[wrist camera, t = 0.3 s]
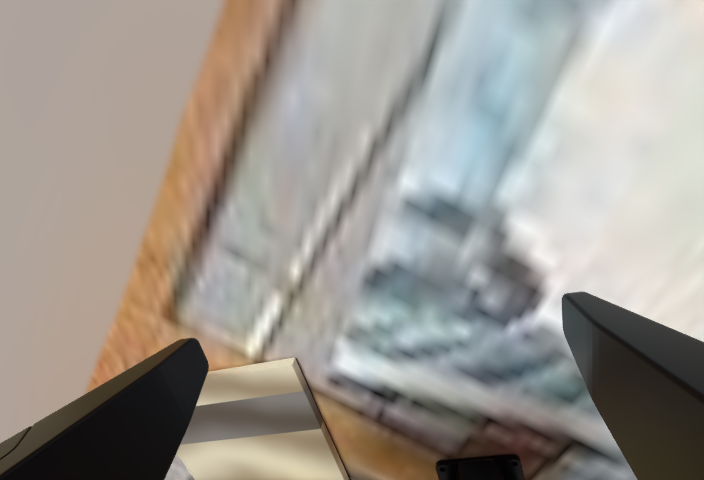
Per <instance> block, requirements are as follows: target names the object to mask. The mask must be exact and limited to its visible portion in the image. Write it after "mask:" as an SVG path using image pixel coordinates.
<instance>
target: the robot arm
mask: <svg viewBox="0 0 704 480" xmlns="http://www.w3.org/2000/svg"><path fill="white" fill-rule="evenodd" d="M562 320H563V331H564V334H565V337H566V340H567V342H568V344H569V347H570V349H571V351H572V354H573V356H574V358H575V361H576V363H577V366H578V368H579V370H580V373H581V375H582V377H583V380H584V382H585V384H586V387H587V389H588V391H589V393H590V396H591V398H592V400H593V402H594V404H595V406H596V407H597V409H598V411H599V413H600V415H601V416H602V418H603V420H604V422H605V423H606V425H607V427H608V429H609V430H610V432H611V434H612V436H613V437H614V439H615V441H616V443H617V444H618V446H619V448H620V450H621V451H622V453H623V455H624V457H625V458H626V460H627V462H628V464H629V465H630V467H631V469H632V471H633V472H634V474H635V476H636V478H637V479H638V480H704V342H702V341H700V340H697V339H695V338H693V337H690V336H688V335H686V334H683V333H681V332H678V331H676V330H674V329H671V328H669V327H667V326H664V325H662V324H660V323H657V322H655V321H652V320H650V319H648V318H645V317H643V316H641V315H638V314H636V313H634V312H631V311H629V310H626V309H624V308H622V307H619V306H617V305H615V304H612V303H610V302H608V301H605V300H603V299H600V298H598V297H596V296H593V295H591V294H589V293H586V292H574V293H567V294H564V295H563V297H562ZM208 369H209V365H208V361H207V359H206V356H205V354H204V352H203V350H202V348H201V345H200V343H199V341H198V340H197V339H195V338H187V339H181V340H178V341H176V342H175V343H173V344H171V345H169V346H168V347H166V348H164V349H163V350H161V351H159V352H157V353H156V354H154V355H152V356H151V357H149V358H147V359H145V360H144V361H142V362H140V363H138V364H137V365H135V366H133V367H132V368H130V369H128V370H126V371H125V372H123V373H121V374H119V375H118V376H116V377H114V378H113V379H111V380H109V381H107V382H106V383H104V384H102V385H101V386H99V387H97V388H95V389H94V390H92V391H90V392H88V393H87V394H85V395H83V396H82V397H80V398H78V399H76V400H75V401H73V402H71V403H69V404H68V405H66V406H64V407H63V408H61V409H59V410H57V411H56V412H54V413H52V414H51V415H49V416H47V417H45V418H44V419H42V420H40V421H39V422H37V423H35V424H34V425H33V426H30V427H28V428H26V429H25V430H23V431H21V432H19V433H18V434H16V435H14V436H12V437H11V438H9V439H7V440H5V441H4V442H2V443H0V480H164V479H165V477H166V475H167V473H168V470H169V468H170V466H171V464H172V462H173V459H174V457H175V455H176V453H177V451H178V449H179V446H180V444H181V442H182V440H183V438H184V435H185V433H186V431H187V429H188V426H189V424H190V421H191V418H192V416H193V413H194V410H195V407H196V404H197V402H198V399H199V396H200V393H201V390H202V387H203V385H204V382H205V379H206V376H207V373H208ZM436 471H437V474H438V477H439V480H524V475H523V470H522V465H521V461H520V458H519V457H518V456H517V455H502V456H490V457H479V458H467V459H455V460H443V461H438V462H437V463H436Z"/></svg>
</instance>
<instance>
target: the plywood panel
mask: <svg viewBox="0 0 704 480" xmlns="http://www.w3.org/2000/svg"><path fill="white" fill-rule="evenodd" d="M177 454H178V455H179V457H180V458H181V460H182V461H183V463H184V464H185V466H186V467H187V469H188V470H189V472H190V473H191V475H192V476H193V478H194V479H195V480H349V478H348V475H347V473H346V471H345V469H344V466H343V464H342V462H341V460H340V458H339V455H338V453H337V451H336V449H335V446H334V444H333V442H332V440H331V437H330V435H329V433H328V431H327V428H326V426H325V424H324V422H323V419H322V417H321V415H320V413H319V410H318V408H317V406H316V404H315V401H314V399H313V397H312V395H311V393H310V390H309V388H308V386H307V384H306V381H305V379H304V377H303V375H302V372H301V370H300V368H299V366H298V363H297V361H296V359H295V358H290V359H284V360H278V361H272V362H265V363H259V364H253V365H247V366H241V367H235V368H229V369H223V370H217V371H210V372H208V373H207V376H206V379H205V382H204V385H203V387H202V390H201V393H200V396H199V399H198V402H197V404H196V407H195V410H194V413H193V416H192V418H191V421H190V424H189V426H188V429H187V431H186V433H185V435H184V438H183V440H182V442H181V444H180V446H179V449H178V451H177Z"/></svg>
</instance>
